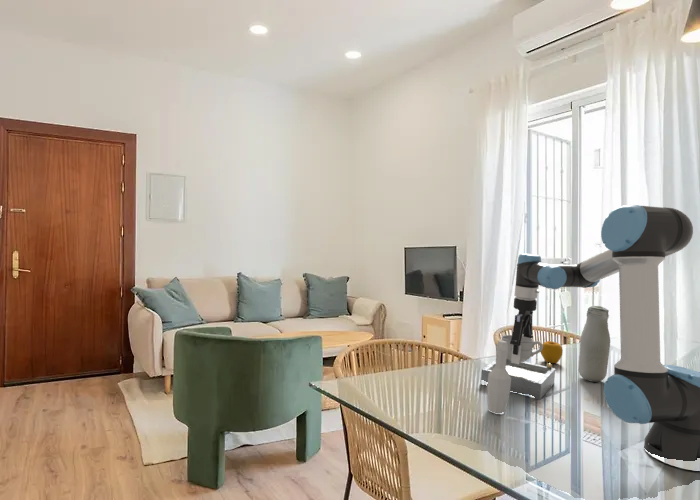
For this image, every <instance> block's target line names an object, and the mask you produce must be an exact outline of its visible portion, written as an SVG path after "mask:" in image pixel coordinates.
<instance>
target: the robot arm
mask: <svg viewBox="0 0 700 500" xmlns="http://www.w3.org/2000/svg"><path fill="white" fill-rule="evenodd" d="M602 223H603V224H602V227H601V231H600V233H601V234H600V235H601V236H600V237H601V241H602V244H604V246H605V247H606V250H603V251H601V252H600V253H598V254H597V253H596V254H595V255H593V256H591V257H589V258H587V259H585V260H583V261H581V262H579V263H576V264H561V263H559V264H557V263H546V262H545V263H544V262H542V257H541V256H540V255H539V254H533V253H532V254H531V253H520V254H519V255H518V258H517V264H516V274H515V276H516V277H515V288H514V299H513V308H514V309H515V310H518V313H517V314H516V315H514V323H513V327H512V334H511V335H512V338H511V342H510V344H513V345H512V355H511V363H515V364H519V363H520V352H521V345H520V343H521V339H522V336H524V337H528V338H531V339H533V338H534V335H533V313H534V312H535V311H536V310H537V305H538V304H537V303H538V300H537V299H538V295H539V294H540V290H539V286H540V287H543V288H546V289H551V290H559V289H560V288H583V289H587V288H593V287H596V286H597V285H599V283H600V281H601V280H602V279H605V278H607V277H610V276H612V275H615V274H618V281H619V283H618V285H619V286H618V287H619V327H620V328H619V330H620V331H619V332H620V359H619V360H618V361H617V362H616V363H615V364H613V365H614V366H613V367H614V370H613V372H614V373H613V375H611V376H609V377H608V378H607V379H606V380H605V382H604V386H603V394H604V399H605V402H606V404H607V406H608V408H609V409H610V410H611V411H612V413H613V415H615V416H616V417H617V418H618V420H621V421H622V422H625V423H629V424H639V425H646V424H651V423H652V425H651V427H650V429H649V431H648V433H647V435H646V436H645V438H644V443H643V449H644V448H645V449H646V450H647V451H648V452H650V453H651V454H655V455H658V456H660V457H664V458H667V459H676V460H683V461H695V460H697V458H700V371H697V370H694V369H691V368H687V367H682V366H678V365H674V364H663V363H662V362H661V332H660V331H661V330H660V328H661V327H660V293H659V292H660V291H659V289H660V287H659V283H660V282H659V265H660V264H661V263H662V262H663V261H664V260H666V257H667V256H671V255H673V254H675V253H677V252H679V251H681V250H683V249H684V248H685V247H687V246H688V245H689V244H690V242H691V240H692V238H693V235H694V227H693V224H692V223H693V222H692V221H691V219H690V218H689V217H688V215H687V214H686V213H684V212H683V211H681V210H679V209H677V208H673V207H666V206H665V207H660V206H649V205H648V206H647V205H637V204H636V205H635V204H633V205H622V206H618V207H616V208H615V209H614V208H613V210H611V212H609V213H608V216H606V217H605V219H604V221H603V222H602ZM645 449H644V450H645Z"/></svg>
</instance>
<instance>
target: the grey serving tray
mask: <svg viewBox="0 0 700 500" xmlns="http://www.w3.org/2000/svg"><path fill="white" fill-rule="evenodd" d="M495 363H496V359H494V360H493V361H492V362H490V363H489V364H487V365H486V366H485V367H483V368H482V369H481V373H480V374H481V375H480V376H481V377H480V381H481V380H484V381H486V382H488V374H489V373H490V372H491V371H492V370H493V369H494V368H495ZM552 366H553V364H551V363H548V362H546V366H545V365H540V364H536V363H532V362H528V361H524V362H520V363H519V364H515V363H511V360H508V359H506V370H507V372H508V374H509V375H510V377H511V386H510V391H513V392H517V393H522V394H529V395H532V396H534V397H535V398H537V399H536V400H538V401H540V400H541V399H542V398H544V396H545V394H547V392H548V391H549V390H550V389H551V388H552V386H553V385H554V384H555V378H556V377H555V376H556V368H555V367H552Z"/></svg>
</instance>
